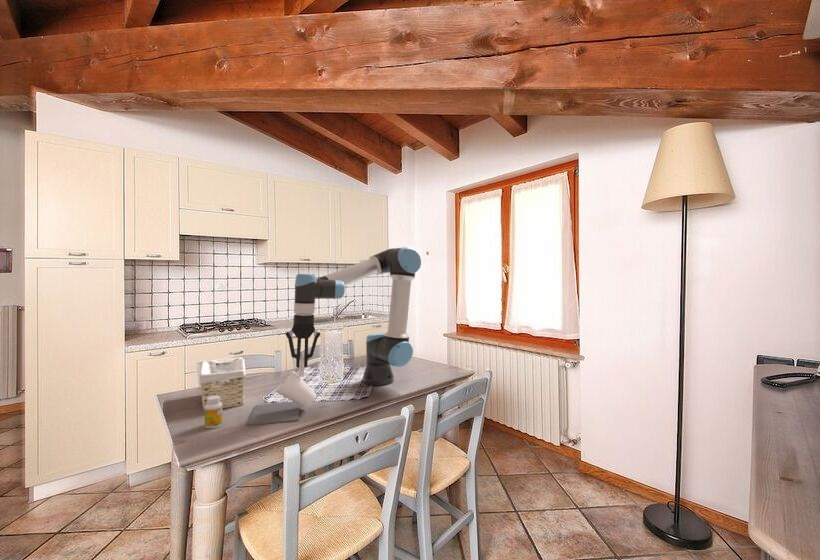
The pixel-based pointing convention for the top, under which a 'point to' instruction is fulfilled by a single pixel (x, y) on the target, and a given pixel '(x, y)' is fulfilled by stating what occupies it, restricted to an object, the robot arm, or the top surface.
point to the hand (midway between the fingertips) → (301, 375)
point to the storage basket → (223, 381)
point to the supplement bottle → (213, 412)
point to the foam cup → (296, 390)
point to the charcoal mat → (274, 413)
